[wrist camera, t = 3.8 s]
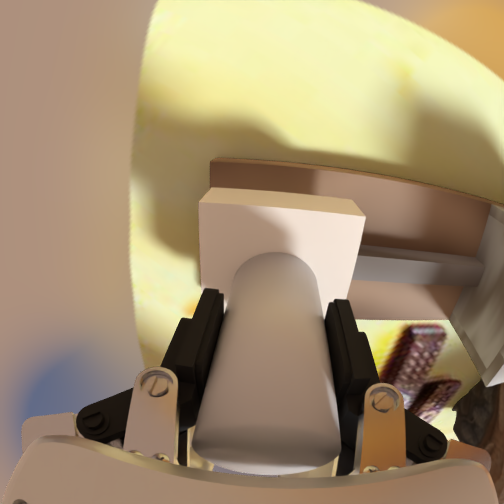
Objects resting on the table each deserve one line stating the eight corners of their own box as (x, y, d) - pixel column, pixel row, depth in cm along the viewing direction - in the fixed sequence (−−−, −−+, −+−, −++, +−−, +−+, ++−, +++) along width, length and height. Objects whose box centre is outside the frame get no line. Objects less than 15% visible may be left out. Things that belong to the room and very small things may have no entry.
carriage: (322, 312, 18) (344, 486, 8) (216, 303, 18) (167, 472, 8) (347, 193, 14) (460, 363, 4) (216, 182, 15) (92, 337, 4)
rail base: (490, 307, 19) (533, 371, 11) (216, 295, 21) (184, 395, 13) (527, 208, 15) (594, 256, 7) (215, 151, 16) (154, 189, 8)
